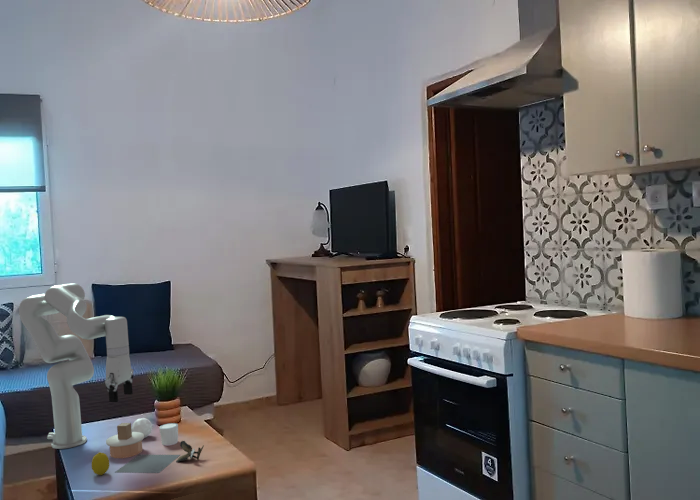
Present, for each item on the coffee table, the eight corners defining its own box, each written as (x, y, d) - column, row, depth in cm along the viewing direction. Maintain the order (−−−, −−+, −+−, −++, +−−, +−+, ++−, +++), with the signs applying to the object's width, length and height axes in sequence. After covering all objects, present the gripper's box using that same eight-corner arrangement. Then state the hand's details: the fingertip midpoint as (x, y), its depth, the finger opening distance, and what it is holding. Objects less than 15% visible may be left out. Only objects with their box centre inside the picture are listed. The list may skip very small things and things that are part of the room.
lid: (98, 446, 226) (97, 430, 226) (118, 434, 239) (117, 418, 239) (132, 446, 224) (131, 430, 223) (150, 434, 237) (149, 418, 236)
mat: (114, 473, 213) (114, 472, 213) (139, 455, 228) (138, 454, 228) (159, 474, 210) (158, 472, 210) (180, 456, 225) (180, 454, 225)
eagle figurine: (205, 452, 225) (181, 447, 226) (203, 439, 220) (178, 435, 222) (197, 470, 219) (172, 465, 220) (194, 458, 214) (169, 453, 216)
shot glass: (182, 440, 242) (180, 422, 242) (175, 447, 235) (174, 428, 235) (164, 441, 243) (163, 423, 242) (157, 447, 236) (156, 429, 236)
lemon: (95, 473, 214) (93, 450, 214) (112, 471, 215) (110, 448, 214) (90, 480, 209) (88, 456, 208) (107, 478, 209) (105, 454, 209)
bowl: (104, 459, 227) (103, 445, 227) (120, 448, 238) (119, 434, 238) (132, 459, 225) (131, 445, 225) (148, 448, 236) (147, 435, 236)
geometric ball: (139, 443, 250) (137, 424, 254) (157, 435, 249) (154, 416, 253) (128, 440, 244) (125, 420, 248) (146, 432, 243) (143, 412, 247)
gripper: (121, 346, 239) (124, 391, 240) (94, 356, 222) (98, 405, 223) (139, 346, 238) (142, 391, 239) (114, 356, 221) (117, 405, 222)
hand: (121, 398), depth 231 cm, fingers open, 9 cm apart
